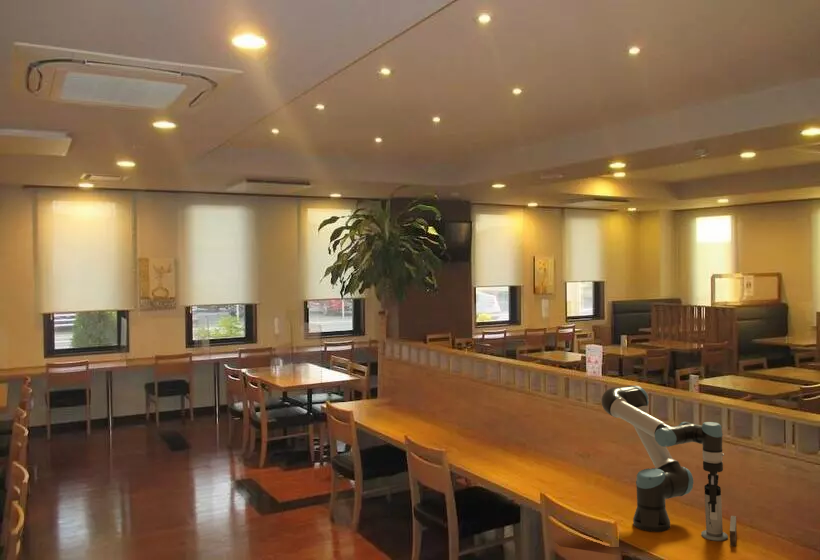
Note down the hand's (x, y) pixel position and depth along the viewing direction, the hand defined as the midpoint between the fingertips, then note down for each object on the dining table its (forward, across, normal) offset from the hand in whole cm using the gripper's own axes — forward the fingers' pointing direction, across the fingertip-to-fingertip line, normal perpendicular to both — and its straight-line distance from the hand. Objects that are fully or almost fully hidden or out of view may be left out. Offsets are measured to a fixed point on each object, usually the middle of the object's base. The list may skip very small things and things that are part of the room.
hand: (714, 516), depth 285 cm
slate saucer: (+8, 0, 0) cm, 8 cm away
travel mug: (+8, 0, 0) cm, 8 cm away
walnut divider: (+8, +1, -7) cm, 11 cm away
